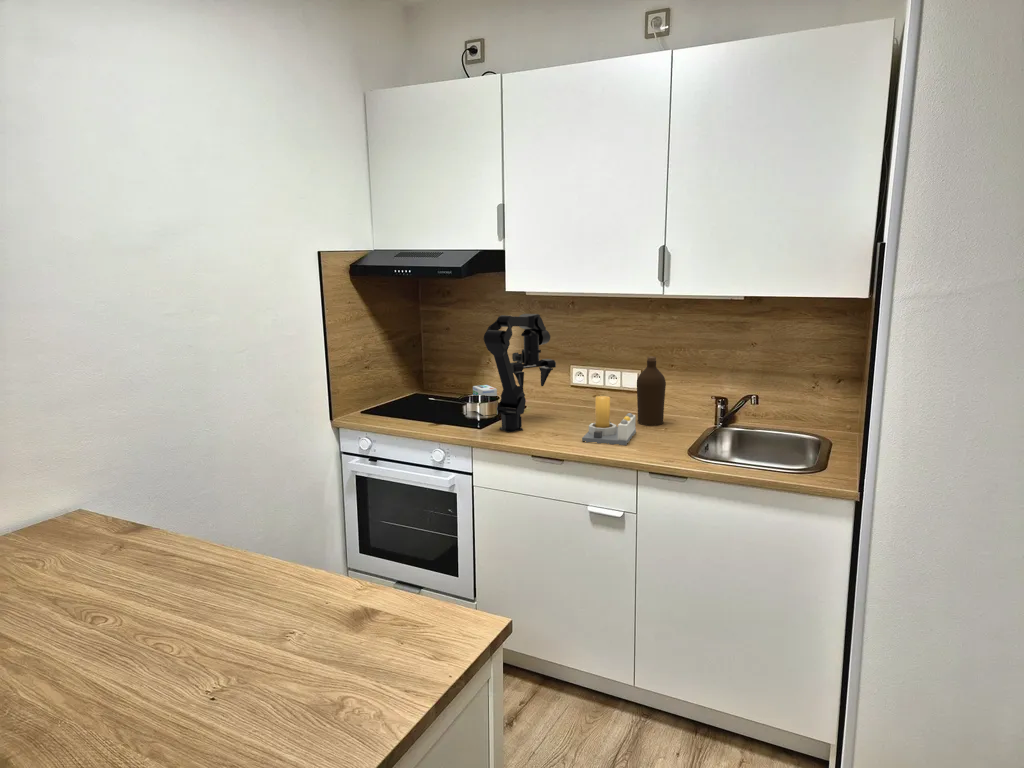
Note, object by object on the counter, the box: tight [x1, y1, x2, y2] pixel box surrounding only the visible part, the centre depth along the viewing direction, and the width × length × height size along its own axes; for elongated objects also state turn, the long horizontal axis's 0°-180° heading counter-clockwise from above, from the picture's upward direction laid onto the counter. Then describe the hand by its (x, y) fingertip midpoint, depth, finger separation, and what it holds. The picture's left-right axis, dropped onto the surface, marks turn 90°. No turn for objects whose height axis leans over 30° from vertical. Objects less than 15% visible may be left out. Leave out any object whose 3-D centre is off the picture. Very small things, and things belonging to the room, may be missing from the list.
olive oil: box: [636, 356, 667, 426], centre depth 254 cm, size 11×11×25 cm
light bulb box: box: [472, 384, 498, 397], centre depth 276 cm, size 11×7×11 cm, turn 25°
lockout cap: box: [594, 395, 611, 428], centre depth 236 cm, size 5×5×12 cm
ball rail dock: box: [581, 412, 637, 446], centre depth 236 cm, size 15×18×8 cm
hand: (532, 387), depth 260 cm, fingers open, 9 cm apart
